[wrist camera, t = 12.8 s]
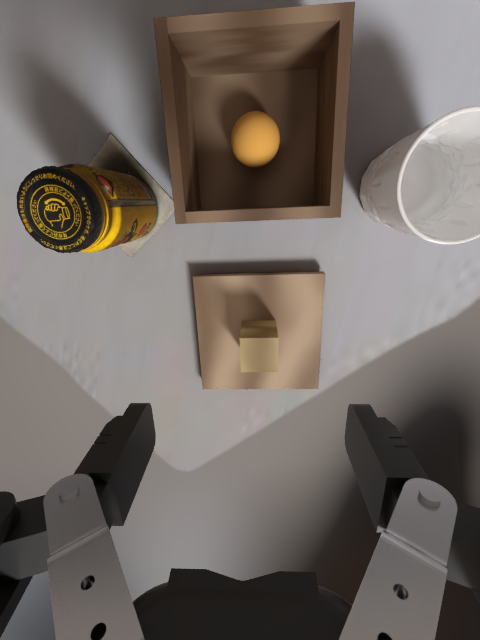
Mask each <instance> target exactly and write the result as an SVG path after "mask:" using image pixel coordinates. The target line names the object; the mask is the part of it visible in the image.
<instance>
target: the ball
mask: <svg viewBox="0 0 480 640" xmlns="http://www.w3.org/2000/svg"><path fill="white" fill-rule="evenodd" d="M279 143H280V134H279V129H278V127H277V124H276V123H275V121H274V120H273V119H272V118H271V117H270V116H269V115H268V114H266V113H264V112H260V111H251V112H248V113H246V114H244V115H243V116H241V117H240V118H239V119H238V120H237V122H236V123H235V125H234V127H233V130H232V133H231V147H232V150H233V153H234V155H235V156H236V158H237V159H238V160H239V161H240V162H241V163H242V164H244V165H246V166H248V167H261V166H264V165H266V164H267V163H269V162H270V161H271V160H272V159H273V158H274V156H275V155H276V153H277V151H278V148H279Z"/></svg>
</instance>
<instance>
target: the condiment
mask: <svg viewBox="0 0 480 640" xmlns="http://www.w3.org/2000/svg"><path fill="white" fill-rule="evenodd" d="M128 171H129V172H130V173H128ZM17 209H18V213H19V216H20V218H21V220H22V223H23V225H24V226H25V229H26V231H27V232H28V233H29V234H30V235H31V236H32V237H33V238H34V239H35V240H36V241H37V242H39V243H40V244H41V245H42V246H44V247H46V248H49V249H52V250H55V251H57V252H61V253H71V252H79V251H81V252H97V251H101V250H104V249H108V248H110V247H113V246H117V245H119V246H120V247H121V248H122V249H123V250H124V251H125V252H126V253H127V254H128V255H129V257H130V258H131V257H132V256H133V255H134V254H135V253H136V252H137V251H138V250H139V249H140V248H141V247H142V246H143V245H144V244H145V243H146V242H147V240H148V239H149V238H150V237H151V236H152V235H153V234H154V233H155V232H156V231H157V230H158V229H159V228H160V227H161V226H162V224H163V223H164V222H165V221H166V220H167V219H168V218H169V217H170V216H171V215H172V214H173V213H174V203H173V200H172V199H171V198H170V197H169V196H168V195H167V193H166V192H165V191H164V190H163V189H162V188H161V187H160V186H159V185H158V184H157V183H156V181H155V180H154V179H153V178H152V177H151V176H150V175H149V174H148V173H147V172H146V171H145V170H144V169H143V168H142V167H141V166H140V165H139V164H138V162H137V161H136V160H135V159H134V158H133V157H132V156H131V155H130V154H129V152H128V151H127V150H126V149H125V148H124V147H123V146H122V145H121V144H120V143H119V142H118V141H117V140H116V139H115V138H114V137H113V135H112V134H110V136H109V137H108V138H107V140H106V141H105V143H104V144H103V145H102V147H101V148H100V149H99V151H98V152H97V153H96V155H95V156H94V157H93V159H92V160H91V161H90V162H89V164H88V165H87V166H86V165H80V164H68V165H64V166H60V167H56V166H50V167H49V166H45V167H42V168H40V169H37V170H34V171H32V172H31V173H30V174H29V175H28V176H26V178H25V179H24V181H23V182H22V183H21V185H20V187H19V191H18V193H17Z"/></svg>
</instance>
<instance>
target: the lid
mask: <svg viewBox="0 0 480 640" xmlns="http://www.w3.org/2000/svg"><path fill="white" fill-rule="evenodd" d="M324 284H325V273H324V272H282V273H241V274H200V275H194V276H193V286H194V297H195V308H196V319H197V330H198V342H199V353H200V364H201V375H202V386H203V389H318V385H319V368H320V351H321V334H322V317H323V301H324Z"/></svg>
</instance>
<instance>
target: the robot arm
mask: <svg viewBox="0 0 480 640" xmlns="http://www.w3.org/2000/svg"><path fill="white" fill-rule="evenodd" d="M345 445H346V451H347V454H348V456H349V459H350V461H351V464H352V467H353V470H354V472H355V475H356V478H357V481H358V483H359V486H360V489H361V491H362V494H363V497H364V499H365V502H366V505H367V507H368V510H369V513H370V516H371V518H372V521H373V524H374V526H375V529H376V532H382V534H381V537H380V539H379V541H378V544H377V546H376V549H375V551H374V554H373V556H372V559H371V561H370V564H369V567H368V569H367V571H366V574H365V576H364V579H363V581H362V584H361V586H360V588H359V591H358V593H357V596H356V598H355V601H354V604H353V606H352V605H350V604H349V603H348V602H347V601H345V600H344V599H343V598H341V597H340V596H338V595H336V594H335V593H333V592H331V591H329V590H327V589H325V588H322V587H319V586H318V583H317V577H316V573H315V572H286V571H285V572H284V571H279V572H275V573H272V574H268V575H264V576H261V577H257V578H254V579H250V580H246V581H240V580H236V579H233V578H230V577H227V576H224V575H221V574H218V573H215V572H212V571H209V570H206V569H171V572H170V577H169V581H168V582H167V583H163V584H161V585H158V586H156V587H154V588H152V589H150V590H149V591H147V592H145V593H144V594H142V595H141V596H140V597H138V598H137V599H136V600H135V601H134V602H132V599H131V596H130V593H129V589H128V586H127V583H126V580H125V577H124V574H123V571H122V568H121V565H120V561H119V558H118V556H117V552H116V549H115V546H114V543H113V540H112V537H111V534H110V528H111V526H123V525H124V522H125V520H126V517H127V515H128V512H129V510H130V507H131V505H132V502H133V500H134V497H135V495H136V492H137V490H138V487H139V485H140V482H141V480H142V477H143V475H144V472H145V470H146V467H147V465H148V462H149V460H150V457H151V455H152V452H153V450H154V446H155V428H154V421H153V414H152V408H151V405H150V403H131V404H130V405H129V406H128V408H127V409H126V411H125V413H124V414H123V416H116V417H115V418H113V419H112V420H111V421H110V422H108V423H107V424H106V425H105V427H104V429H103V430H102V432H101V433H100V436H98V438H97V439H96V441H95V442H94V444H93V445H92V447H91V448H90V450H89V451H88V453H87V454H86V456H85V457H84V459H83V460H82V462H81V464H80V465H79V467H78V468H77V470H76V471H75V473H74V474H73V475H70V476H67V477H65V478H63V479H61V480H59V481H58V482H56V483H55V484H54V485H53V486H52V487H51V488H50V489H49V490H48V491H47V493H46V495H44V496H40V497H36V498H32V499H28V500H24V501H20V502H16V500H15V497H14V495H13V494H12V493H10V492H0V637H1V635H2V634H3V632H4V630H5V628H6V626H7V624H8V622H9V620H10V619H11V617H12V615H13V613H14V611H15V609H16V607H17V605H18V603H19V602H20V600H21V598H22V596H23V594H24V592H25V590H26V588H27V586H28V585H29V583H30V581H31V579H32V577H33V575H35V574H39V573H42V572H45V571H48V575H49V584H50V592H51V601H52V609H53V618H54V626H55V635H56V640H435V634H436V628H437V624H438V619H439V613H440V608H441V603H442V598H443V592H444V587H445V582H446V580H449V581H452V582H455V583H458V584H461V585H463V586H466V587H469V588H472V589H473V591H474V593H475V595H476V597H477V599H478V601H479V603H480V508H477V507H472V506H469V505H466V504H462V503H459V502H457V501H455V499H454V498H453V496H452V495H451V494H450V493H449V492H448V491H447V490H446V489H445V488H443V487H442V486H440V485H439V484H437V483H435V482H433V481H430V480H429V479H428V477H427V475H426V474H425V472H424V471H423V469H422V467H421V466H420V464H419V463H418V461H417V459H416V458H415V456H414V455H413V453H412V451H411V450H410V448H408V445H407V444H406V442H405V440H404V439H403V438H402V436H401V434H400V432H399V431H398V429H397V428H396V426H395V425H393V424H392V423H391V422H390V421H388V420H387V419H386V418H382V417H381V418H380V417H379V418H378V417H377V416H376V414H375V412H374V411H373V409H372V407H371V405H369V404H350V405H349V407H348V413H347V422H346V430H345Z"/></svg>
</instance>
